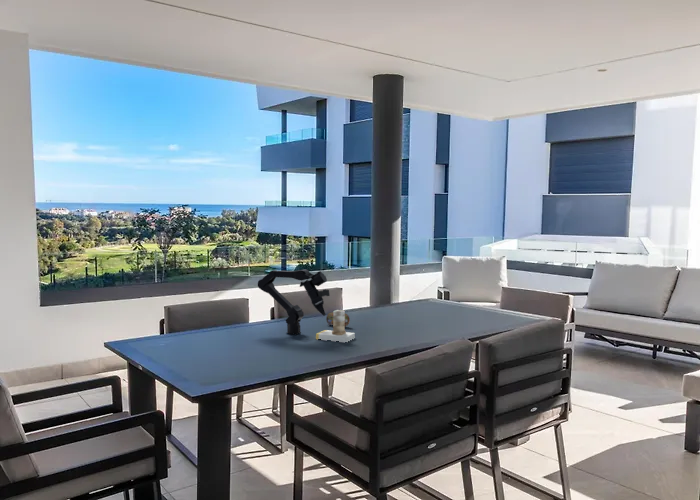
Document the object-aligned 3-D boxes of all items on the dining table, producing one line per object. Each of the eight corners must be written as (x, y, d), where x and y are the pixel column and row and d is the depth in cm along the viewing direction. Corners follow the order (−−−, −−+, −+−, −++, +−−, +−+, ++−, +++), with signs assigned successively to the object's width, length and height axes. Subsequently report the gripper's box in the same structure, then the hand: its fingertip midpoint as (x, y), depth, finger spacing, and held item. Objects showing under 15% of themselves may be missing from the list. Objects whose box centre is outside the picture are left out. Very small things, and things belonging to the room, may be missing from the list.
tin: (326, 325, 327) (326, 311, 326) (328, 324, 330) (328, 310, 329) (347, 328, 320) (348, 314, 319) (350, 327, 323) (350, 313, 322)
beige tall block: (331, 334, 288) (332, 311, 287) (336, 332, 293) (337, 309, 292) (341, 335, 286) (341, 311, 285) (345, 333, 290) (346, 310, 290)
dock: (316, 339, 289) (316, 333, 289) (324, 335, 299) (324, 329, 299) (346, 342, 282) (346, 337, 281) (354, 338, 292) (354, 333, 292)
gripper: (324, 281, 289) (337, 307, 287) (324, 284, 308) (337, 309, 306) (305, 291, 288) (319, 317, 286) (307, 294, 306) (320, 318, 304)
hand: (324, 315), depth 296 cm, fingers open, 9 cm apart
